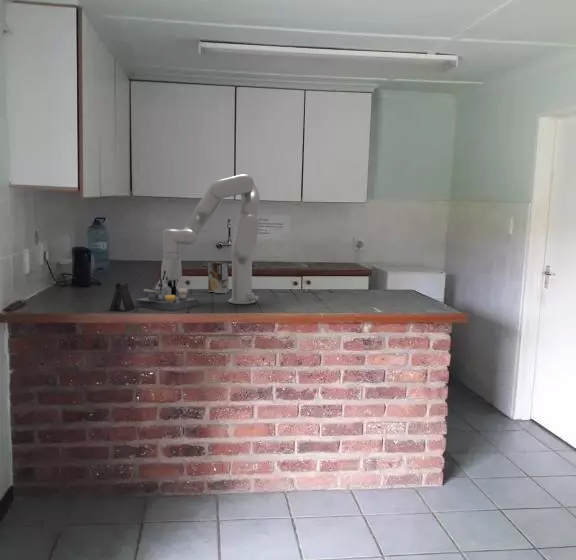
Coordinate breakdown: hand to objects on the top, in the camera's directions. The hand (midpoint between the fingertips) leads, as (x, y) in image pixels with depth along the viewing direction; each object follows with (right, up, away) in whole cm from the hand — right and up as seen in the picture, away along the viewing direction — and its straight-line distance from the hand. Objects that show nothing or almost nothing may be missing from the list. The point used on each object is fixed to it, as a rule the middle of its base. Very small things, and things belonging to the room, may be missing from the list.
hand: (172, 294), depth 276 cm
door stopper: (-19, -6, -16) cm, 25 cm away
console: (-2, -5, -5) cm, 7 cm away
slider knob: (-2, -1, -4) cm, 4 cm away
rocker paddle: (-8, +1, -2) cm, 9 cm away
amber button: (+1, -5, -12) cm, 13 cm away
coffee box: (+17, 0, +34) cm, 39 cm away
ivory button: (+6, -2, -4) cm, 7 cm away
